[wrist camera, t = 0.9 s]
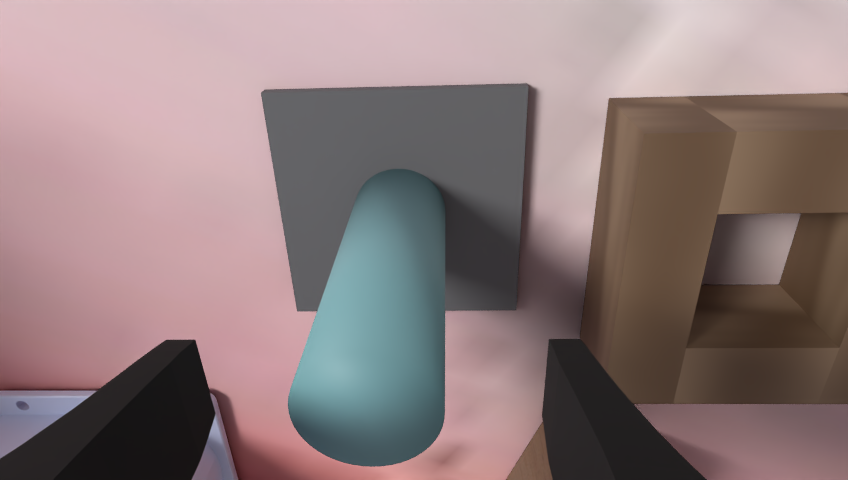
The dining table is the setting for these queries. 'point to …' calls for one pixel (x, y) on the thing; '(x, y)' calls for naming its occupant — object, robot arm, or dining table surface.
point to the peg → (379, 330)
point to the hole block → (690, 242)
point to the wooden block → (533, 460)
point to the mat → (413, 150)
